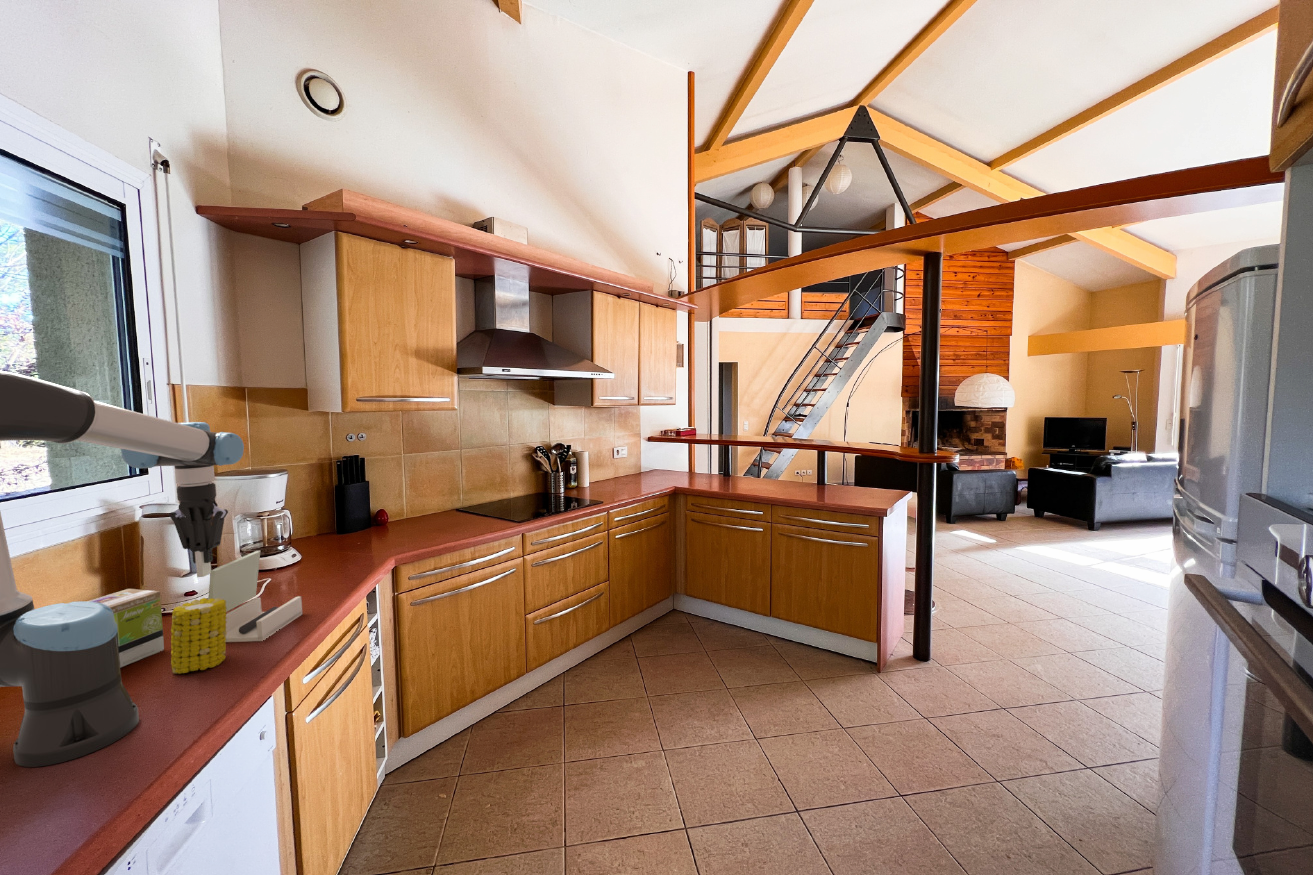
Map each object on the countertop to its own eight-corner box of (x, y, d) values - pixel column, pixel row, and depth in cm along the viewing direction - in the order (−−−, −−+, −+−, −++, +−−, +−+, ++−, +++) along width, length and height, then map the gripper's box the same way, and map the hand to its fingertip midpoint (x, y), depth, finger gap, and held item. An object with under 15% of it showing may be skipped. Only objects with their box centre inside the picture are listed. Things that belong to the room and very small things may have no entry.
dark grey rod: (247, 633, 135) (246, 626, 135) (239, 634, 135) (238, 626, 135) (281, 612, 148) (280, 605, 148) (273, 612, 148) (272, 605, 148)
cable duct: (262, 640, 133) (261, 621, 133) (212, 642, 133) (210, 622, 133) (302, 614, 149) (301, 596, 149) (257, 615, 149) (255, 597, 148)
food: (162, 681, 118) (211, 661, 128) (201, 676, 115) (248, 655, 125) (148, 612, 119) (198, 597, 128) (186, 605, 115) (234, 590, 125)
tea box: (90, 683, 115) (82, 615, 114) (53, 678, 117) (46, 612, 116) (166, 649, 130) (160, 589, 128) (133, 646, 132) (127, 586, 130)
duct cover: (215, 571, 131) (210, 570, 131) (210, 620, 132) (206, 620, 132) (260, 551, 147) (256, 550, 147) (255, 595, 148) (252, 595, 148)
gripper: (233, 480, 141) (241, 569, 143) (181, 481, 141) (189, 570, 143) (211, 485, 134) (219, 579, 136) (156, 486, 133) (165, 581, 135)
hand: (204, 575), depth 139 cm, fingers closed
